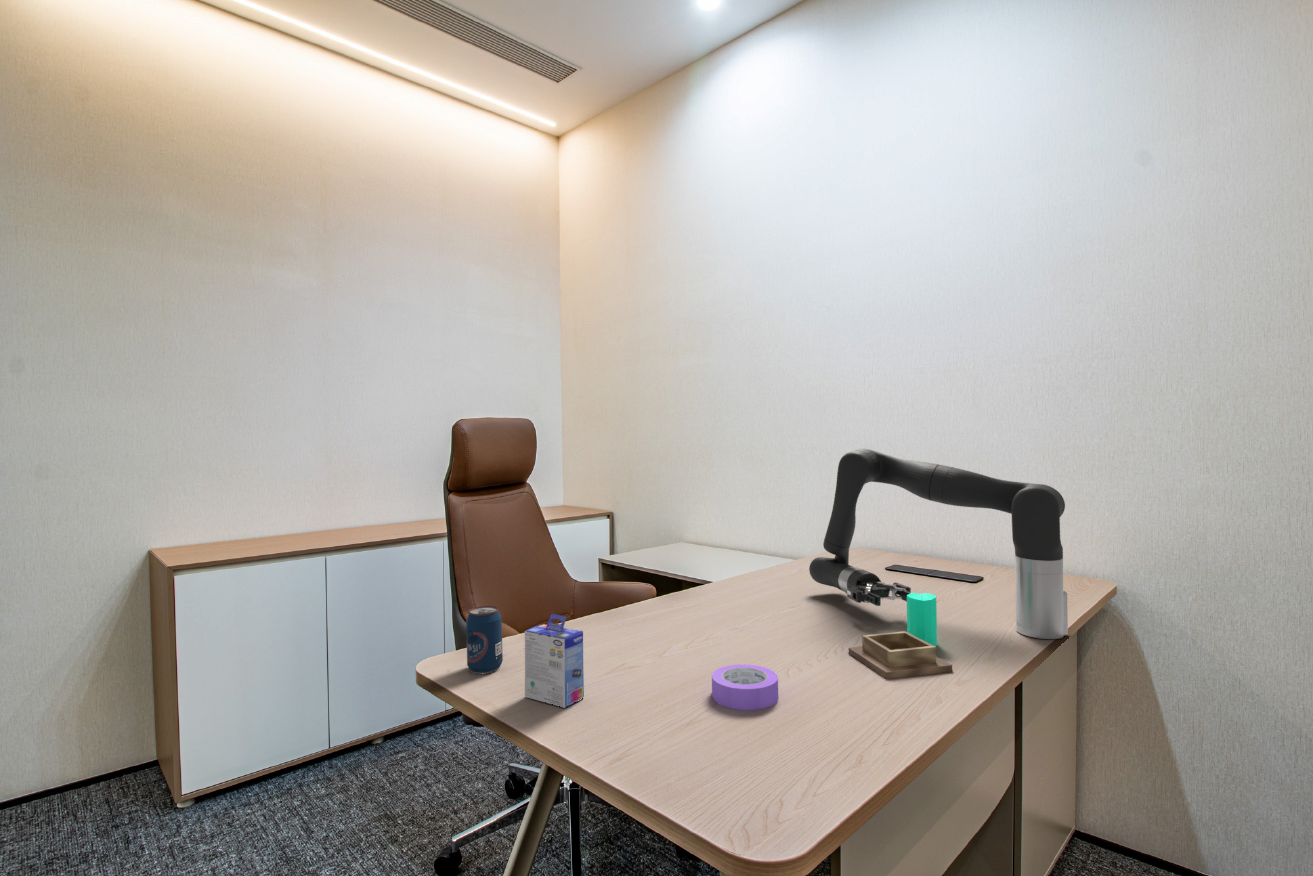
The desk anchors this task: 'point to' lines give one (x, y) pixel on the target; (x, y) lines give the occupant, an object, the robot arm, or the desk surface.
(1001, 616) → the desk surface
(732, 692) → the masking tape
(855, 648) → the candle holder
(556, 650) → the ink cartridge box
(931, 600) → the candle
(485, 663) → the soda can
